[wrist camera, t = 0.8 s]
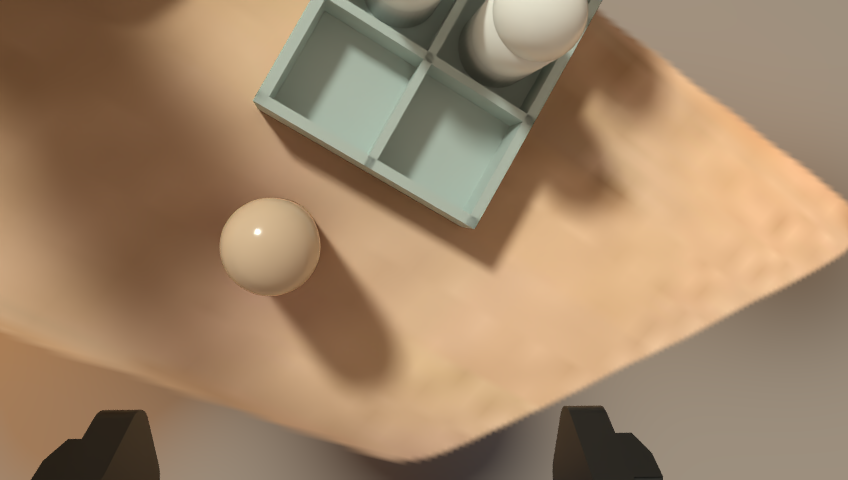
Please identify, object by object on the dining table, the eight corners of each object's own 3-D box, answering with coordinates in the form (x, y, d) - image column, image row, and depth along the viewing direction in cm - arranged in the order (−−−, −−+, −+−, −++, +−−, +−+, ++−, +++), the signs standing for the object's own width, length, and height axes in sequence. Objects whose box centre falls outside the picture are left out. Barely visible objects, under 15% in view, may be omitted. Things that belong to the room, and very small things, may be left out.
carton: (258, 109, 36) (252, 100, 33) (431, -193, 37) (442, -230, 34) (461, 226, 39) (474, 229, 36) (620, -59, 40) (647, -81, 36)
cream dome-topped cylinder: (221, 224, 36) (191, 232, 27) (292, 183, 37) (286, 177, 28) (264, 292, 37) (249, 323, 28) (333, 251, 38) (340, 268, 28)
